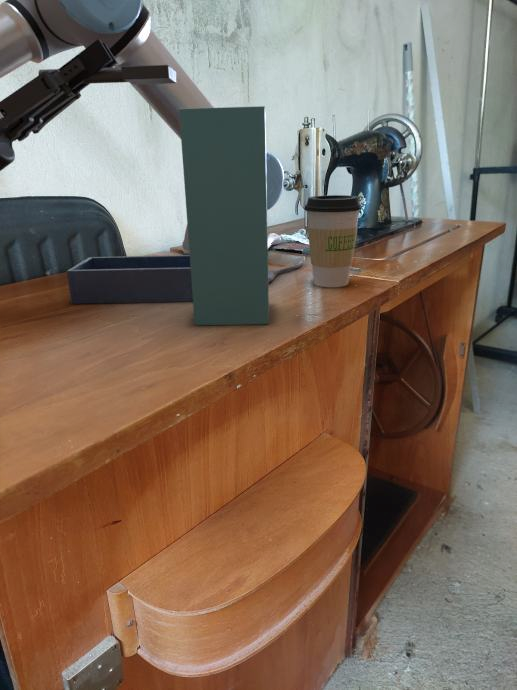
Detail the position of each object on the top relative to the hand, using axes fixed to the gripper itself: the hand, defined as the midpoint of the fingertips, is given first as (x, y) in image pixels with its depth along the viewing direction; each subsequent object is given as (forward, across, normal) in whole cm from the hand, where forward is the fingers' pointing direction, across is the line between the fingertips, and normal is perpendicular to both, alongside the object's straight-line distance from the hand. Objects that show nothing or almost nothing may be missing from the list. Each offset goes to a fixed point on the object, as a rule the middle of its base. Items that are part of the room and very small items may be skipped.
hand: (108, 51), depth 67 cm
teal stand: (-5, +3, -38) cm, 39 cm away
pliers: (+1, -24, -42) cm, 48 cm away
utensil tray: (-19, -11, -30) cm, 37 cm away
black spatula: (-2, 0, -3) cm, 4 cm away
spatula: (0, -44, -41) cm, 60 cm away
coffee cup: (+10, -15, -47) cm, 50 cm away
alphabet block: (-21, -28, -29) cm, 46 cm away
